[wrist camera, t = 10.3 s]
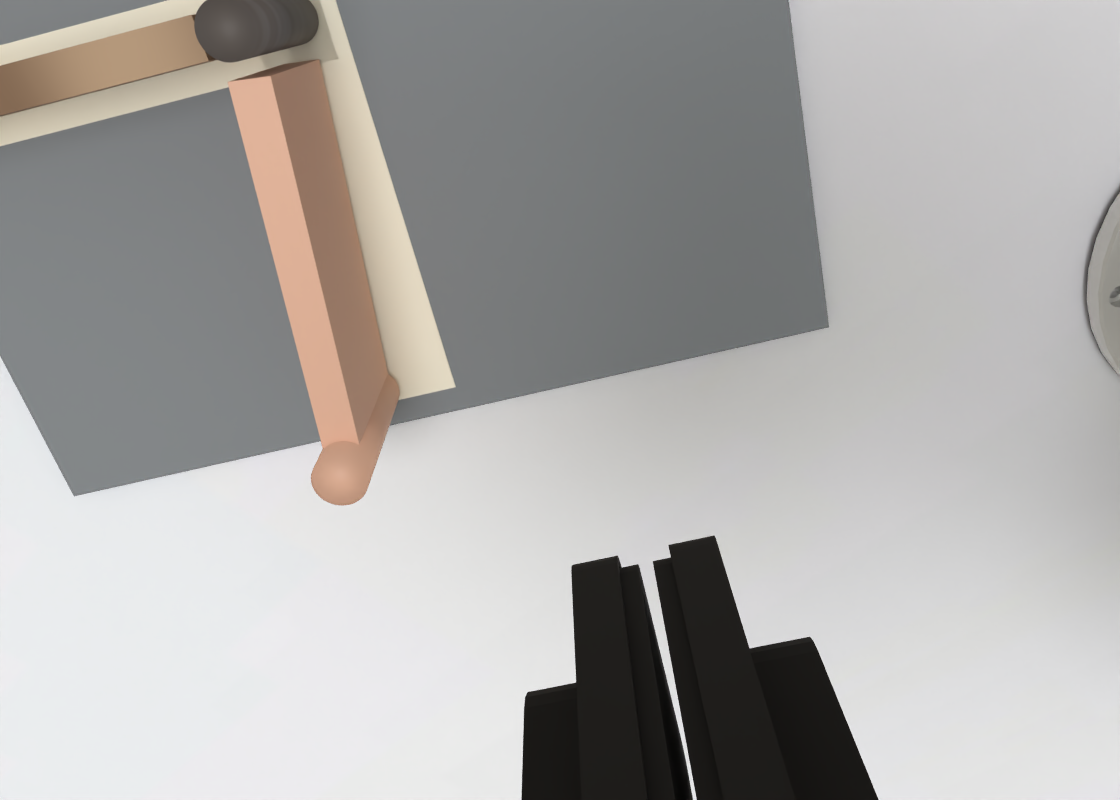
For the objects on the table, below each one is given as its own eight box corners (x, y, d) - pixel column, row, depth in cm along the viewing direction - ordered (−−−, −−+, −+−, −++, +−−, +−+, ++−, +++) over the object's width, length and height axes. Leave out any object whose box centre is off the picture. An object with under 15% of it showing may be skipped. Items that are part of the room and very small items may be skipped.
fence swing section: (274, 65, 31) (204, 87, 24) (327, 57, 31) (271, 78, 24) (358, 415, 36) (318, 508, 30) (403, 410, 36) (373, 501, 30)
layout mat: (738, -373, 27) (741, -379, 26) (826, 323, 36) (829, 327, 35) (-228, -95, 29) (-239, -96, 29) (78, 491, 38) (73, 497, 38)
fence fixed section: (308, -16, 30) (242, -16, 24) (326, 41, 31) (267, 58, 24) (-114, 96, 31) (-288, 127, 25) (-87, 149, 32) (-249, 192, 26)
